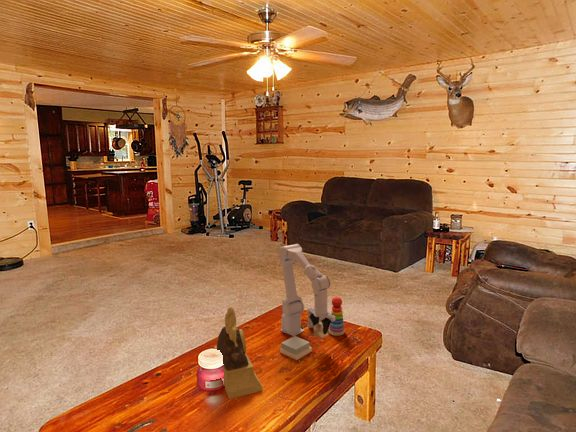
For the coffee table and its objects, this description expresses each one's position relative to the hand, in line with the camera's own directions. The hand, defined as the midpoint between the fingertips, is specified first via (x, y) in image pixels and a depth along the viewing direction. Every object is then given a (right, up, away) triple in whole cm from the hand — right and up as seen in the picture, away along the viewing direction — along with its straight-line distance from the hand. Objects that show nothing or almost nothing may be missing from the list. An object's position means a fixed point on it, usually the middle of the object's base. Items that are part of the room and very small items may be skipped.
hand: (320, 331), depth 176 cm
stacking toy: (+9, -6, +17) cm, 20 cm away
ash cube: (0, -2, 0) cm, 2 cm away
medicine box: (0, -5, +25) cm, 25 cm away
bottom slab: (-11, -10, 0) cm, 15 cm away
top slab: (-12, -7, 0) cm, 14 cm away
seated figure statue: (-36, -13, -18) cm, 42 cm away
